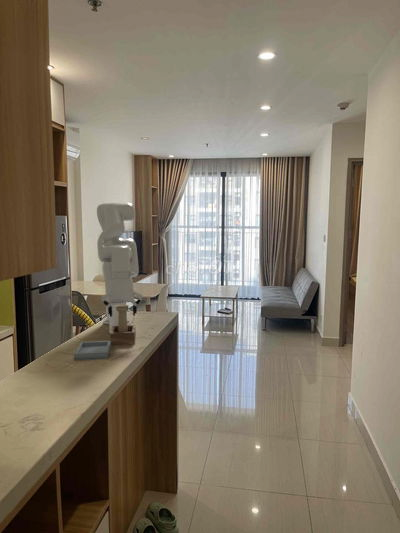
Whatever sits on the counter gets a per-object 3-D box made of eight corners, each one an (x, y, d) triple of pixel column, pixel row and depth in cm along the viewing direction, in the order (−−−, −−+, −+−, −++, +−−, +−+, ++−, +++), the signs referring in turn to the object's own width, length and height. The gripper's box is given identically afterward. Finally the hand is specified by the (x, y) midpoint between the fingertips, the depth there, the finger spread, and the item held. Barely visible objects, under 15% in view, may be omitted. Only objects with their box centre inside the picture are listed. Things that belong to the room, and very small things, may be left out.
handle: (131, 338, 171) (129, 304, 169) (126, 343, 164) (125, 308, 162) (120, 338, 171) (119, 304, 169) (115, 342, 165) (114, 308, 163)
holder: (112, 337, 172) (112, 326, 172) (135, 336, 174) (135, 325, 173) (110, 345, 162) (109, 333, 161) (134, 344, 163) (134, 332, 162)
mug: (137, 329, 184) (136, 304, 182) (131, 335, 175) (130, 309, 174) (113, 328, 185) (112, 304, 184) (106, 334, 177) (105, 308, 175)
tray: (81, 347, 159) (80, 341, 158) (111, 346, 160) (111, 340, 160) (74, 360, 145) (74, 354, 145) (107, 358, 146) (107, 352, 146)
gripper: (142, 273, 169) (143, 312, 170) (101, 275, 166) (103, 314, 168) (141, 275, 161) (143, 316, 163) (98, 277, 159) (100, 318, 161)
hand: (122, 315), depth 166 cm, fingers open, 9 cm apart
